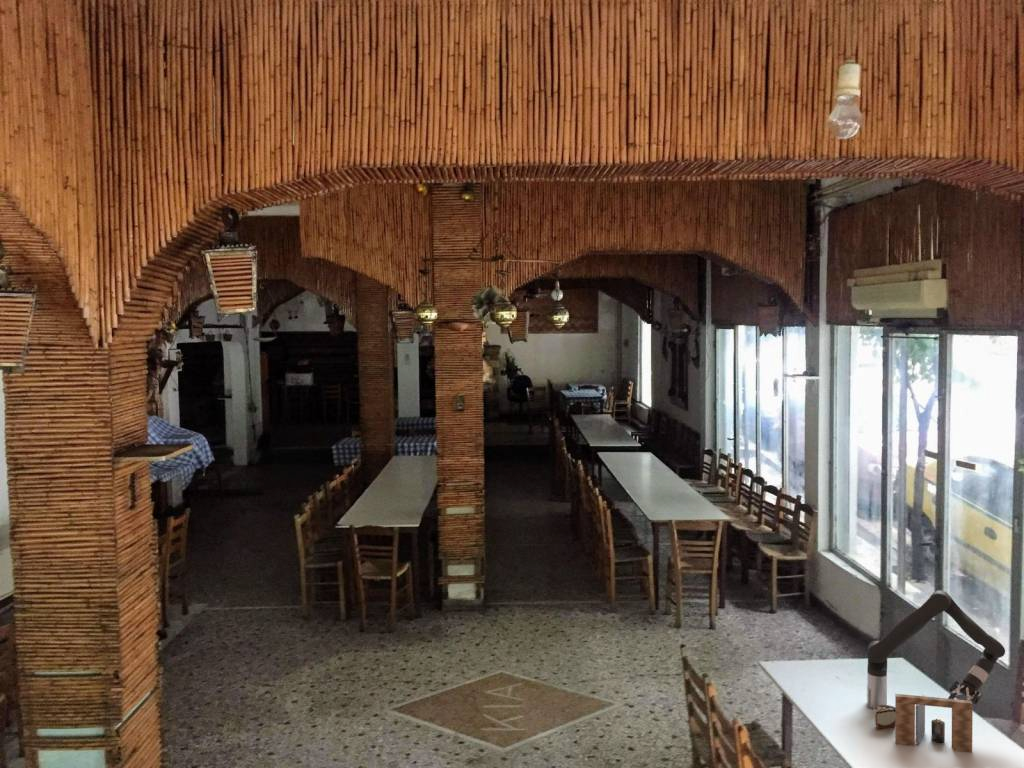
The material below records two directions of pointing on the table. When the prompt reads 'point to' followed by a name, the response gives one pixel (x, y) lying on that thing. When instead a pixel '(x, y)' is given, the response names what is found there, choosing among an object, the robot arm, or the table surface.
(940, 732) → the pepper mill
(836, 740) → the table surface
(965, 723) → the door frame
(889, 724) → the food container
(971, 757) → the table surface
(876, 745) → the table surface
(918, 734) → the cabinet door
